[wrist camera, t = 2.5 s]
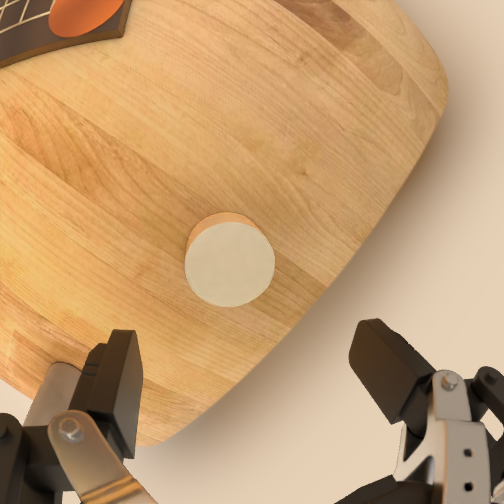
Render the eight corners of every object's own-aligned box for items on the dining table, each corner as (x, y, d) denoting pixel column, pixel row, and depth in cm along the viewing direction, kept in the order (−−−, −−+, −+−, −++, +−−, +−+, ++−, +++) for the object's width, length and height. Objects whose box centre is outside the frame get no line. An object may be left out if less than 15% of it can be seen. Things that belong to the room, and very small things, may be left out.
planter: (60, 393, 21) (33, 470, 11) (42, 359, 19) (3, 440, 10) (96, 396, 22) (76, 482, 12) (80, 362, 20) (47, 453, 11)
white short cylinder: (267, 212, 19) (279, 223, 16) (261, 286, 21) (271, 306, 18) (186, 211, 18) (184, 221, 15) (186, 286, 20) (185, 307, 17)
